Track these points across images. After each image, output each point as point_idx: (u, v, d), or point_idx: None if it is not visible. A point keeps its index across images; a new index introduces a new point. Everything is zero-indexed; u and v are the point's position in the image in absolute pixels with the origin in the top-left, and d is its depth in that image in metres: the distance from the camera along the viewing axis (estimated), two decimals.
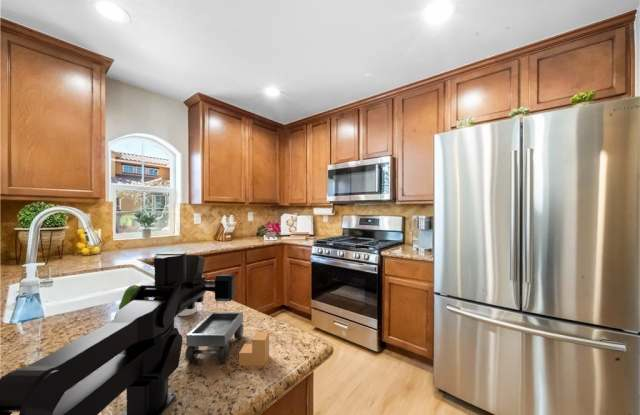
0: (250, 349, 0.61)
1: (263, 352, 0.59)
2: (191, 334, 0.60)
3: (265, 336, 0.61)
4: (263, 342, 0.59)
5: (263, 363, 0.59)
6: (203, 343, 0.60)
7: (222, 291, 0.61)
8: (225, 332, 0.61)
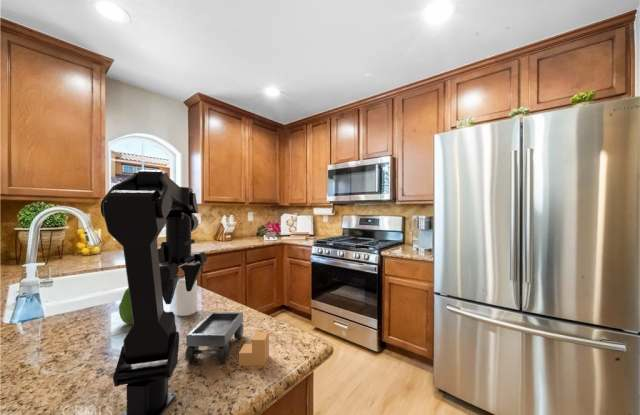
0: (250, 349, 0.61)
1: (263, 352, 0.59)
2: (191, 334, 0.60)
3: (265, 336, 0.61)
4: (263, 342, 0.59)
5: (263, 363, 0.59)
6: (203, 343, 0.60)
7: (195, 252, 0.74)
8: (225, 332, 0.61)
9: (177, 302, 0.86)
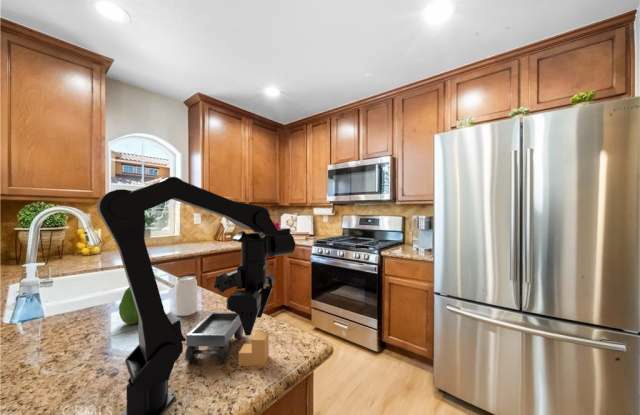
0: (250, 349, 0.61)
1: (263, 352, 0.59)
2: (191, 334, 0.60)
3: (265, 336, 0.61)
4: (263, 342, 0.59)
5: (263, 363, 0.59)
6: (203, 343, 0.60)
7: None
8: (225, 332, 0.61)
9: (177, 302, 0.86)
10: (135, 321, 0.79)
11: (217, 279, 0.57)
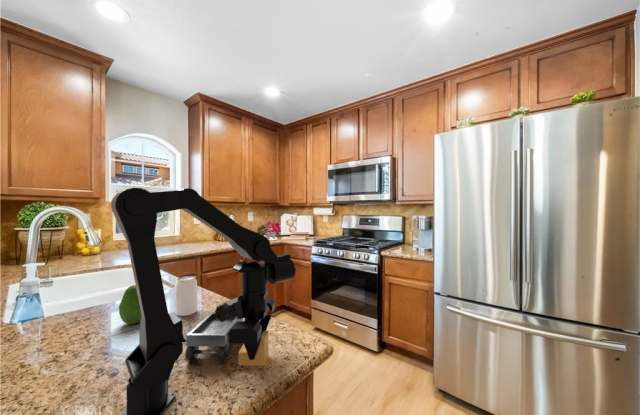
0: None
1: (262, 352, 0.59)
2: (191, 334, 0.60)
3: (264, 336, 0.61)
4: (262, 342, 0.59)
5: (263, 363, 0.59)
6: (203, 343, 0.60)
7: None
8: (225, 332, 0.61)
9: (177, 302, 0.86)
10: (135, 321, 0.79)
11: (217, 310, 0.57)
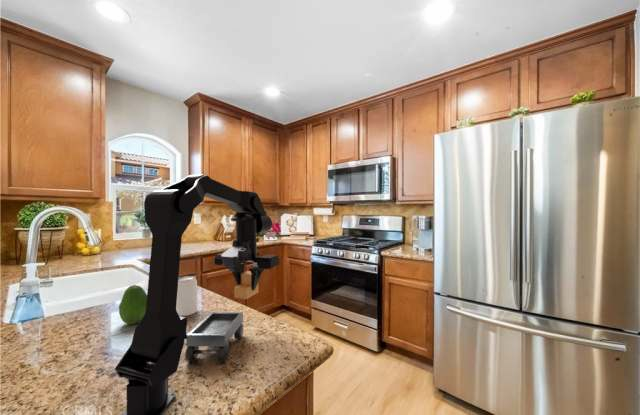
0: (246, 285, 0.74)
1: None
2: (191, 334, 0.60)
3: None
4: None
5: (257, 290, 0.77)
6: (203, 343, 0.60)
7: None
8: (225, 332, 0.61)
9: (177, 302, 0.86)
10: (135, 321, 0.79)
11: (244, 253, 0.67)
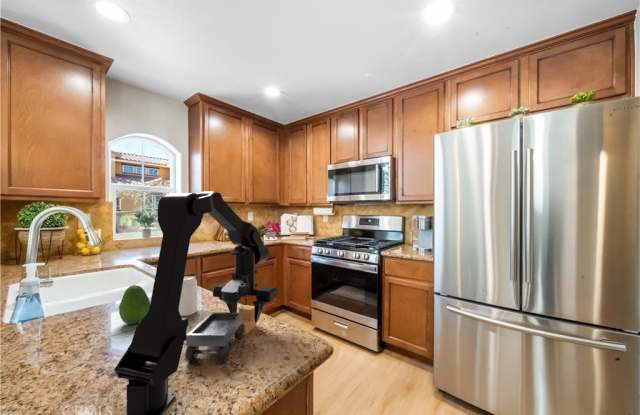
0: (244, 320, 0.76)
1: None
2: (191, 334, 0.60)
3: (250, 306, 0.79)
4: None
5: (255, 324, 0.79)
6: (203, 343, 0.60)
7: (224, 284, 0.79)
8: (225, 332, 0.61)
9: None
10: (135, 321, 0.79)
11: (244, 288, 0.69)
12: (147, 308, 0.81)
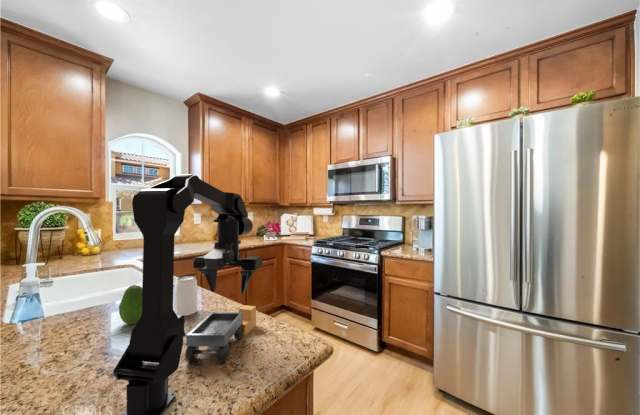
0: (244, 320, 0.76)
1: (255, 316, 0.79)
2: (191, 334, 0.60)
3: (250, 306, 0.79)
4: (255, 308, 0.79)
5: (255, 324, 0.79)
6: (203, 343, 0.60)
7: (205, 256, 0.76)
8: (225, 332, 0.61)
9: (177, 302, 0.86)
10: (135, 321, 0.79)
11: (229, 254, 0.66)
12: None
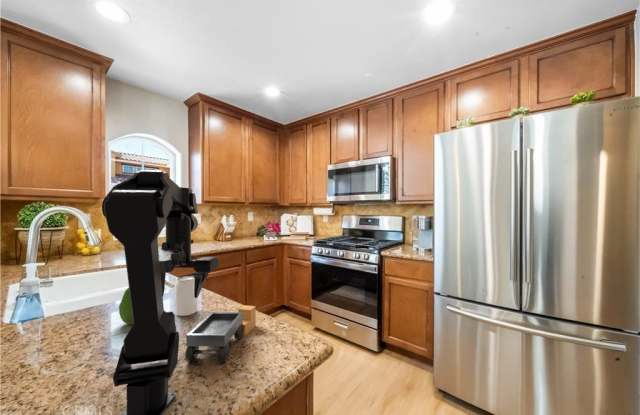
0: (244, 320, 0.76)
1: (254, 316, 0.79)
2: (191, 334, 0.60)
3: (250, 306, 0.79)
4: (254, 308, 0.79)
5: (255, 324, 0.79)
6: (203, 343, 0.60)
7: None
8: (225, 332, 0.61)
9: (177, 302, 0.86)
10: None
11: (179, 255, 0.60)
12: None
